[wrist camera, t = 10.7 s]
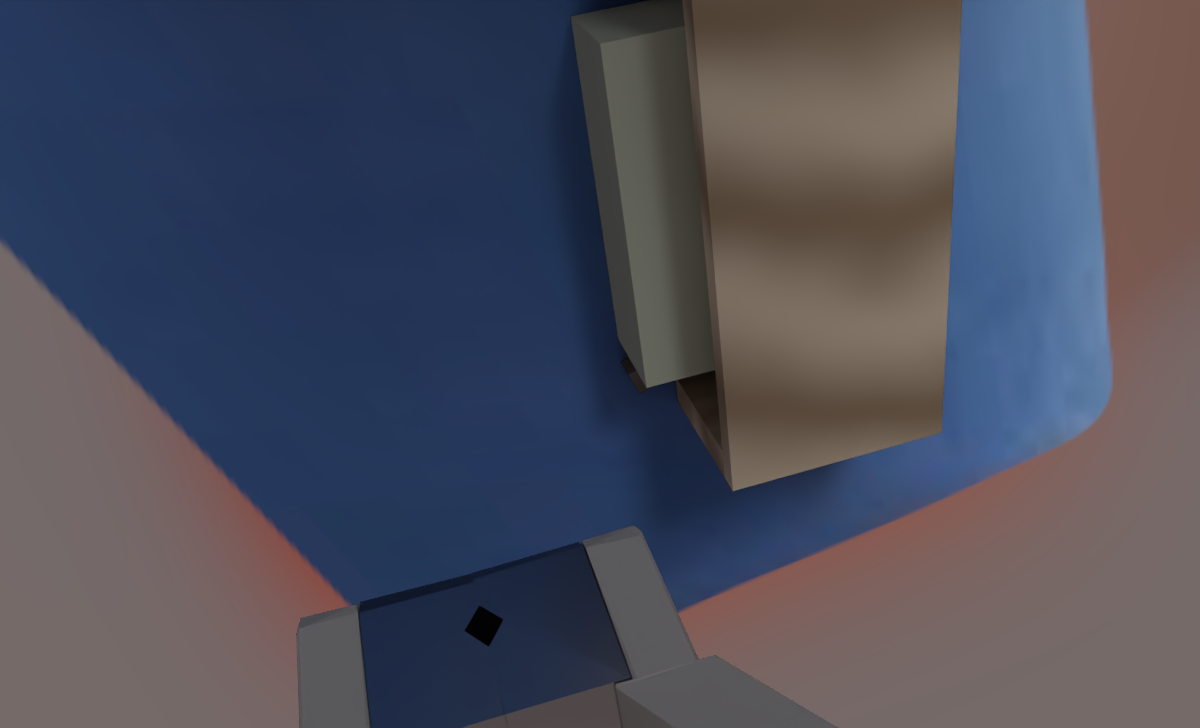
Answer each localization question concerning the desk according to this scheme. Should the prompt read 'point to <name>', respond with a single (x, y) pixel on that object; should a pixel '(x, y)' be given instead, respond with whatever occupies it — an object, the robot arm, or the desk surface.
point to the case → (647, 184)
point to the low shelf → (821, 226)
